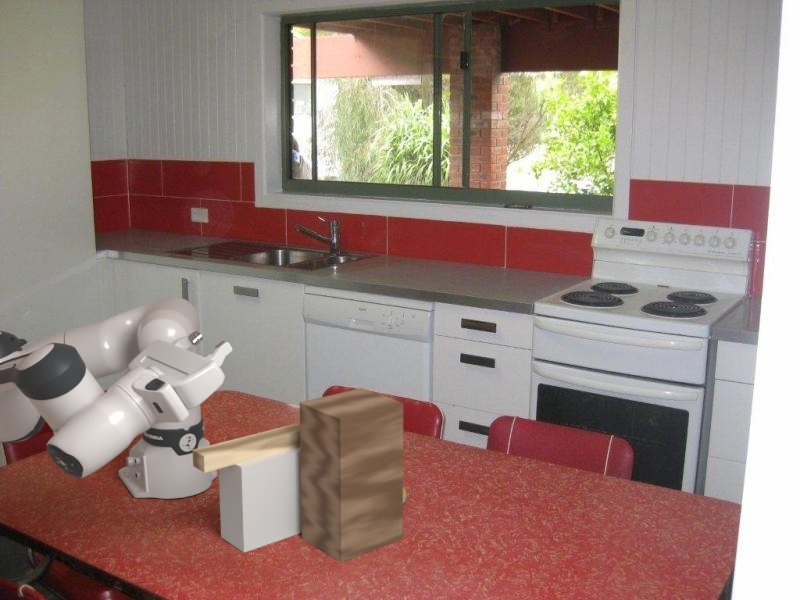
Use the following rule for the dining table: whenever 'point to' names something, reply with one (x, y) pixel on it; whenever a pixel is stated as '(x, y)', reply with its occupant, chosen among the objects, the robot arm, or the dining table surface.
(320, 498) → the walnut block
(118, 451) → the robot arm
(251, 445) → the oak slat
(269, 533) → the grey step
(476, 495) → the dining table surface
